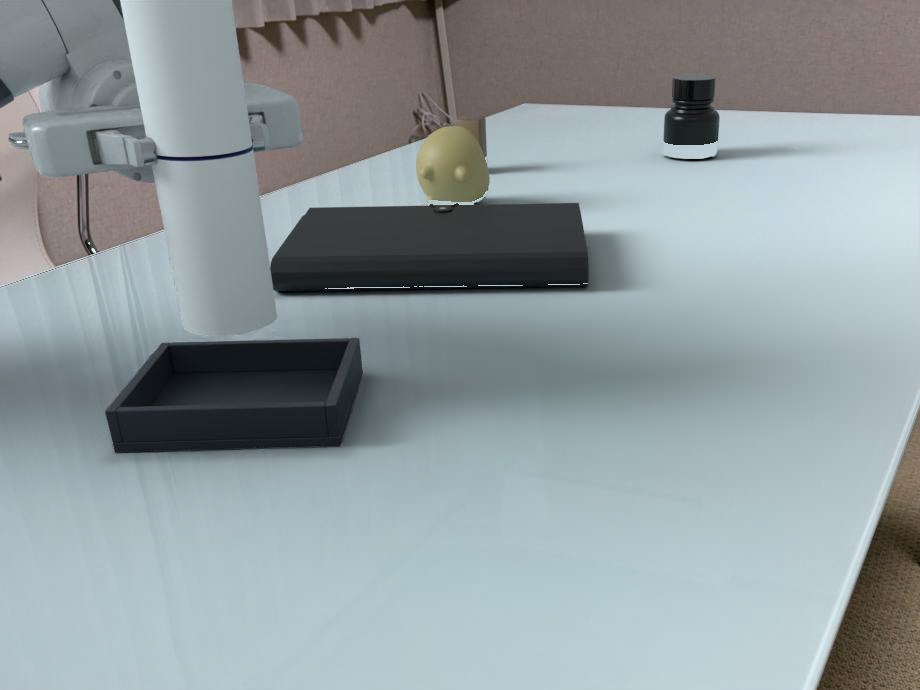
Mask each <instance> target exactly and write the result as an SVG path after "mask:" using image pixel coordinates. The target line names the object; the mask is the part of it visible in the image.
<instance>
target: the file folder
mask: <svg viewBox="0 0 920 690" xmlns="http://www.w3.org/2000/svg"><path fill="white" fill-rule="evenodd" d="M582 217H583V216H582V212H581V208H580V203H579V202H553V203H552V202H551V203H545V202H544V203H500V204H499V203H494V204H492V203H491V204H474V205H459V204H458V203H456V204H454V205H433V204H430V205H429V206H428V205H386V206H385V205H383V206H382V205H381V206H379V205H378V206H330V207H329V206H327V207H309V208H308V209H307V211H305V214H303V215H302V216H301V217H300V219H299V220H298V222H297V223H296V224H295V225H294V227H293V228H292V230H291V231H290V233H289V234H288V235H287V237H286V238H285V240H284V241H283V242H282V244H281V245H280V247H278V249H277V251H276V252H275V253H274V255H273V256H272V258H271V261H270V270H271V277H272V284H273V291H274V292H275V293H276V292H281V293H282V292H327V291H328V292H329V291H330V292H331V291H333V292H335V291H338V292H339V291H385V290H387V291H388V290H391V291H392V290H435V289H436V290H442V289H444V290H445V289H446V290H448V289H498V288H499V289H500V288H505V289H507V288H552V287H554V288H555V287H557V288H558V287H559V288H561V287H588V286H589V275H590V274H589V272H590V270H589V269H590V268H589V251H588V245H587V241H586V236H585V235H586V234H585V230H584V229H585V228H584V222H583V218H582ZM583 283H588V284H583ZM548 284H580V285H548ZM463 285H464V286H467V287H424V286H463ZM478 285H523V286H478ZM403 286H404V287H410V288H354V289H328V288H347V287H349V288H350V287H403ZM414 286H417V287H414ZM419 286H423V287H419ZM325 288H327V289H325Z"/></svg>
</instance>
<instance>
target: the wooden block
mask: <svg viewBox="0 0 920 690" xmlns="http://www.w3.org/2000/svg"><path fill="white" fill-rule="evenodd" d="M486 121H487V120H486V117H485V116H484V115H462V116H459V117H457V118H456V119H455V120H454V126H460V127H464V128H466V129H467V130H469V131H470V132H471V133H472V134H473V136H474V137H475V138H476V140H477V141H478V143H479V145H480V147H481V149H482V151H483V154H484V157H486V156H487V157H488V149H487V147H488V146H487V123H486Z"/></svg>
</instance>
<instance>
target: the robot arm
mask: <svg viewBox="0 0 920 690" xmlns="http://www.w3.org/2000/svg"><path fill="white" fill-rule="evenodd" d="M243 83H244V90H245V97H246V103H247V110H248V117H249V124H250V131H251V138H252V146H251V147H252V148H253V152H254V153H258V152H267V151H268V152H269V151H275V150H276V151H277V150H283V149H293V148H297V147H299V146H300V145H301V144H302V142H303V122H302V115H301V110H300V106H299V103H298V100H297V99H296V97H294V96H293V95H291V94H290V93H287V92H284V91H282V90H279V89H276V88H274V87H270V86H267V85H263V84H259V83H255V82H248V81H243ZM36 88H38V90H37V91H38V93H37V95H38V103H39V107H40V110H41V111H40V112H35V113H29V114H26V115H25V116H23V118H22V120H21V122H22V123H21V124H22V127H23V131H16V132H10V133H8V139H7V140H8V142H9V143H10V145H11V147H13V148H15V149H18V150H28V152H29V156H30V160H31V164H32V166H33V168H34V169H35V171H37V172H38V174H39V175H41V176H43V177H45V178H67V177H75V176H83V175H88V174H89V175H91V174H98V173H106V172H115V173H117V174H119V175H121V176H123V177H125V178H127V179H130V180H132V181H136V182H141V183H147V184H150V183H151V184H153V183H155V179H154V174H153V169H152V165H156V164H157V163H158V160H157V155H156V154H155V153H154V151H155V144H154V141H153V139H152V138H150V137H147V136H146V133H145V127H144V122H143V117H142V112H141V107H140V101H139V96H138V91H137V86H136V80H135V75H134V70H133V65H132V60H131V54H130V49H129V44H128V39H127V34H126V28H125V23H124V18H123V13H122V7H121V2H120V0H0V109H3V108H4V107H5V106H7V105H8V104H10V103H12V102H14V101H15V98H17V97H19V96H21V95H23V94H26V93H28V92H30V91H32V90H34V89H36Z"/></svg>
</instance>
